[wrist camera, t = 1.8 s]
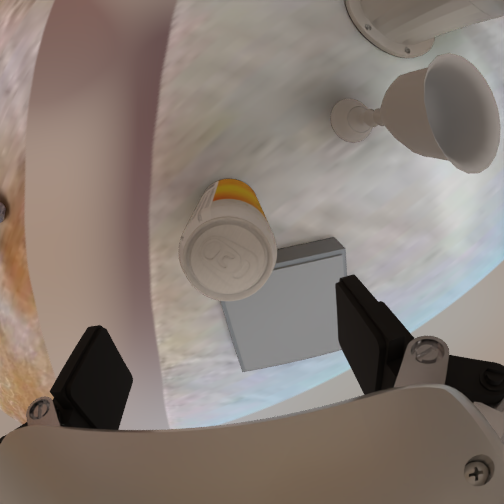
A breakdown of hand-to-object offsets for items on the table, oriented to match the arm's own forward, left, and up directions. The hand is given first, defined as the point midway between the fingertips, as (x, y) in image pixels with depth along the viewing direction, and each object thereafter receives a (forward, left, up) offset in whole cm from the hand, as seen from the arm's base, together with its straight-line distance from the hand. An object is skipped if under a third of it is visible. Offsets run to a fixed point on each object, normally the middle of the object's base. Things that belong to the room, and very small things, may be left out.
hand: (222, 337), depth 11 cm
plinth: (+13, +4, -22) cm, 25 cm away
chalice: (-7, +15, -22) cm, 28 cm away
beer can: (0, 0, -22) cm, 22 cm away
